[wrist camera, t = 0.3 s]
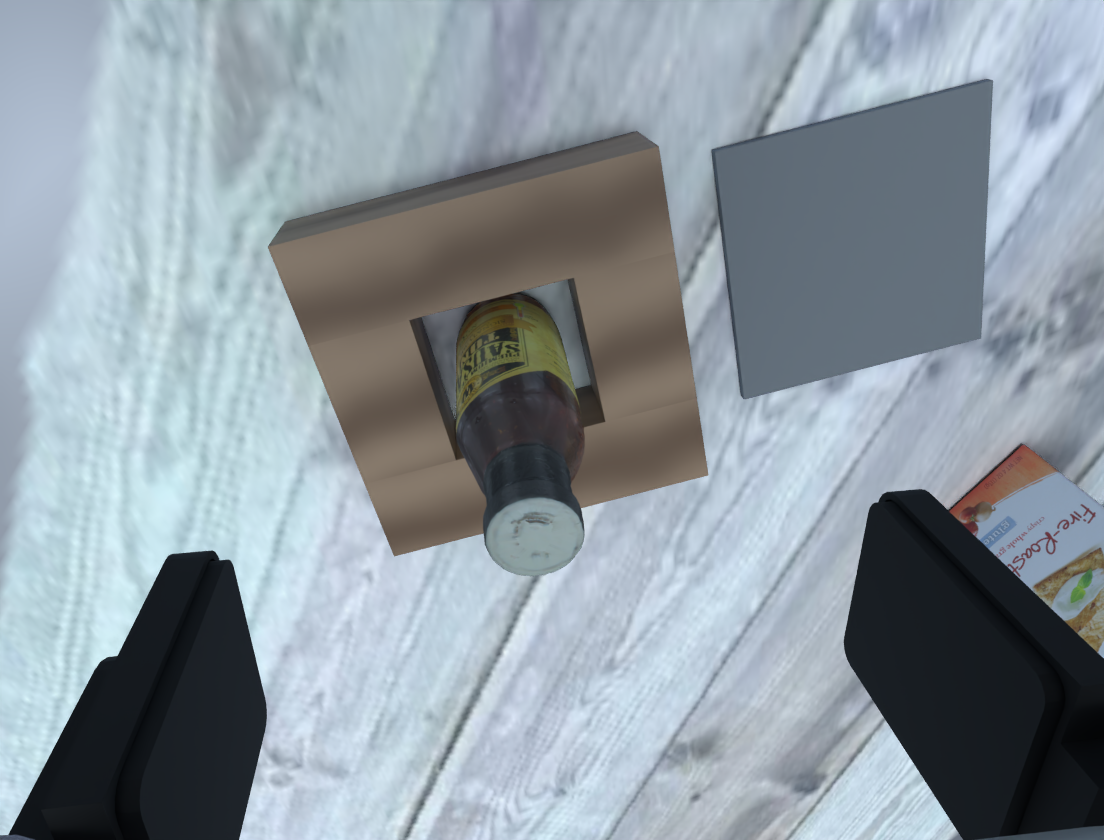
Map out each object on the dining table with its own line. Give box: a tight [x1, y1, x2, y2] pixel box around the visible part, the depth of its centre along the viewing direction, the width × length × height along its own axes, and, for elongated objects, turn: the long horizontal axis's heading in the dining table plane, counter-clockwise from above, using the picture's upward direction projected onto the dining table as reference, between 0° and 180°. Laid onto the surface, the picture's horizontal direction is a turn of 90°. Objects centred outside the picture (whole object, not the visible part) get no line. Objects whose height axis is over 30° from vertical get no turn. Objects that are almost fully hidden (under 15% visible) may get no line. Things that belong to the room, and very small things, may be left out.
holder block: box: [268, 131, 708, 556], centre depth 47 cm, size 20×20×5 cm
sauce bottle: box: [456, 293, 585, 576], centre depth 40 cm, size 7×6×20 cm
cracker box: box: [949, 445, 1104, 658], centre depth 51 cm, size 14×6×21 cm, turn 142°
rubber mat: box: [712, 79, 993, 399], centre depth 49 cm, size 16×16×1 cm
